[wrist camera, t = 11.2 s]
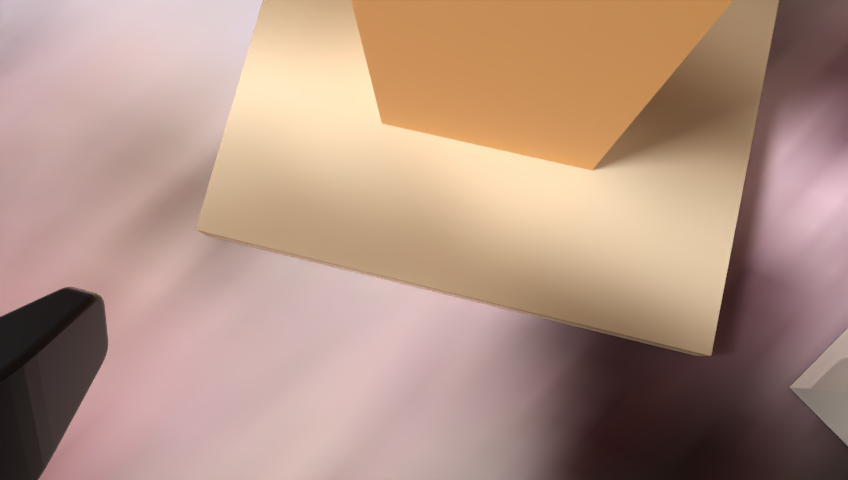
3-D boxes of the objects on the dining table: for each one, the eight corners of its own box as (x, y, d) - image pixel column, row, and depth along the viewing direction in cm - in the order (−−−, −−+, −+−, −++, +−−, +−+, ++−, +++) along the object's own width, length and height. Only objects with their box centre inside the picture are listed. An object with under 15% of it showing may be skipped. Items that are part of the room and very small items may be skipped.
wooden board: (696, 355, 18) (711, 355, 17) (208, 236, 19) (195, 229, 18) (785, -103, 20) (803, -127, 19) (334, -199, 20) (329, -227, 19)
